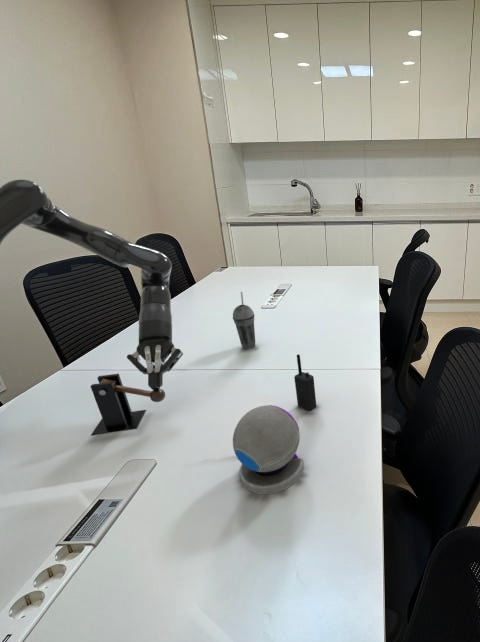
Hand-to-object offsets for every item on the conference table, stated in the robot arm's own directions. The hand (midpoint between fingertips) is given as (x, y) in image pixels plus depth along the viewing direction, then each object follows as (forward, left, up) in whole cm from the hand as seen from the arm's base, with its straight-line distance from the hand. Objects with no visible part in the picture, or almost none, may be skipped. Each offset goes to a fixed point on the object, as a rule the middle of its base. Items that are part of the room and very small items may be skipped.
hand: (155, 388), depth 95 cm
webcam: (+27, -25, -10) cm, 38 cm away
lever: (-6, +1, -2) cm, 6 cm away
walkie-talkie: (+36, -3, -10) cm, 37 cm away
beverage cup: (+19, +40, -10) cm, 45 cm away
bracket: (-10, +1, -9) cm, 14 cm away
